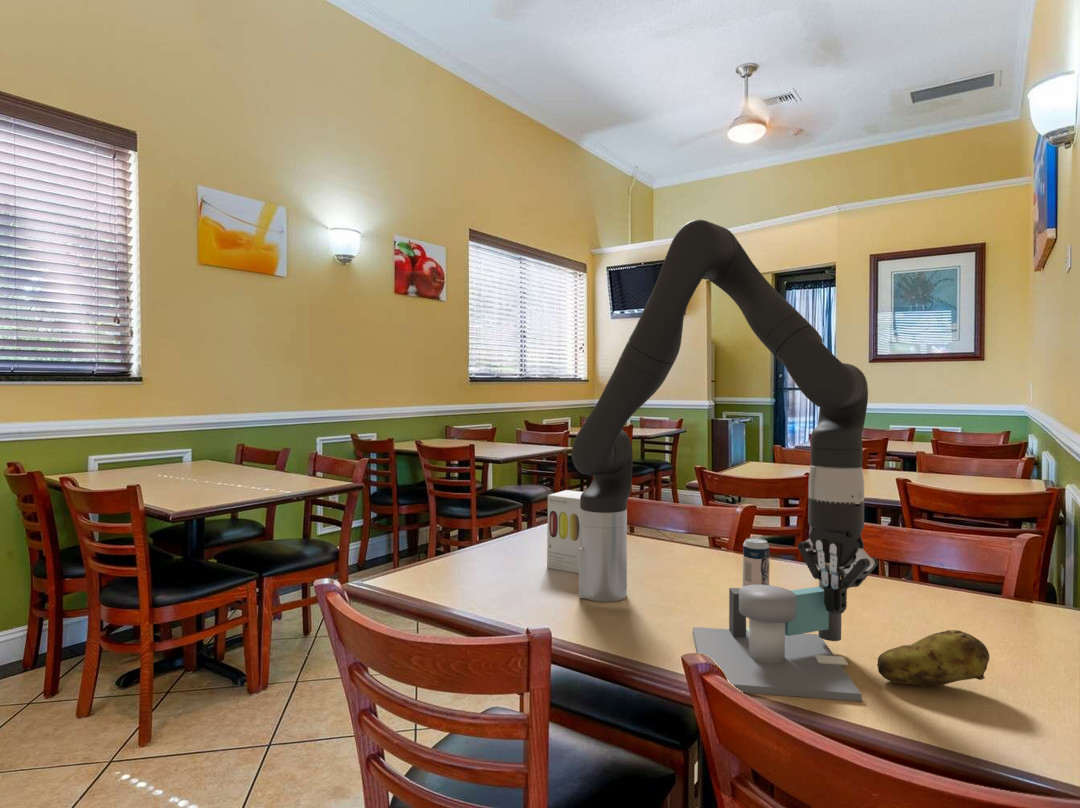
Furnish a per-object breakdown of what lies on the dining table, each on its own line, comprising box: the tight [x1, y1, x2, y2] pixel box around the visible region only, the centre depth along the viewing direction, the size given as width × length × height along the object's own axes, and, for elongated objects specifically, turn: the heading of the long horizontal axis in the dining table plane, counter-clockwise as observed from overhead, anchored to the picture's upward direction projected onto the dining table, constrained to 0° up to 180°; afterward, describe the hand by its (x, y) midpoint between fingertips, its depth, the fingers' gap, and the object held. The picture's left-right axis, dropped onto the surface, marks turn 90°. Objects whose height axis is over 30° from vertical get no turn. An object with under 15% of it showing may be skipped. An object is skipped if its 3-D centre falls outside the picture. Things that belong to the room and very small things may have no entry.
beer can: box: [742, 537, 771, 587], centre depth 119 cm, size 5×5×12 cm
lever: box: [739, 579, 842, 642], centre depth 95 cm, size 18×8×9 cm, turn 110°
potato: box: [876, 629, 990, 687], centre depth 86 cm, size 8×13×8 cm, turn 57°
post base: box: [692, 587, 862, 702], centre depth 94 cm, size 21×21×8 cm
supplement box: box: [546, 489, 584, 575], centre depth 144 cm, size 10×9×17 cm
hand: (835, 612), depth 93 cm, fingers closed
